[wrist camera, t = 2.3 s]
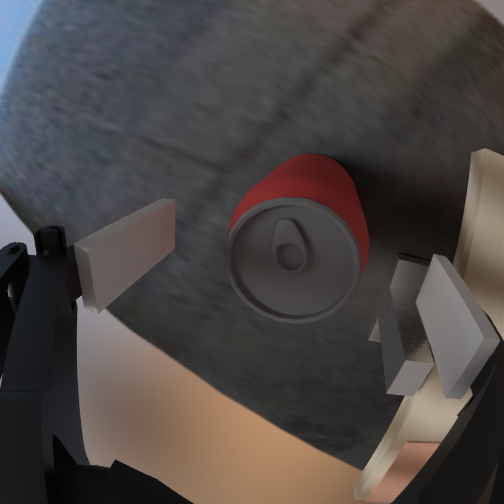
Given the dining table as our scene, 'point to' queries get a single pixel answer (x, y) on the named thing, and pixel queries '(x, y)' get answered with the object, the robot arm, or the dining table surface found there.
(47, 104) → the dining table surface
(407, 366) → the pivot stand
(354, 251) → the beer can
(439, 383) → the balance beam
